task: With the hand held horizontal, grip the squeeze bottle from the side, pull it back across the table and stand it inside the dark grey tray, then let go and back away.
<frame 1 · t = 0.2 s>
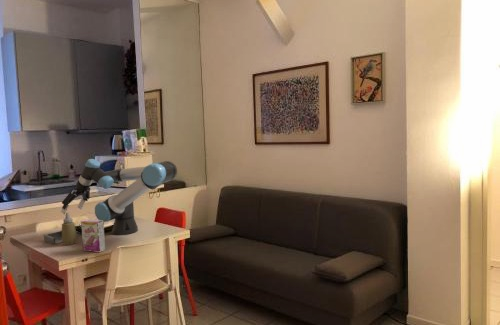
hand: (71, 210, 258), 15 cm above the table, tool tilted 35°, fingers open, 13 cm apart
dark grey tray: (60, 240, 248), on the table
candy bar box: (94, 251, 226), on the table
squeeze bottle: (69, 244, 240), on the table
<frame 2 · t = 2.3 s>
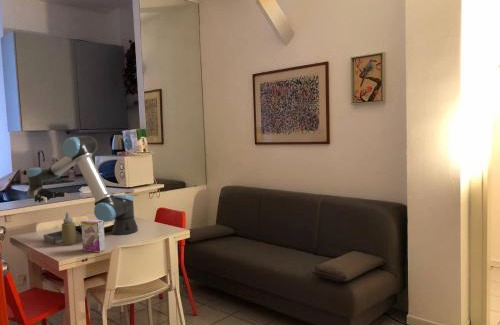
hand: (58, 198, 244), 25 cm above the table, tool horizontal, fingers open, 13 cm apart
nothing on the table moved.
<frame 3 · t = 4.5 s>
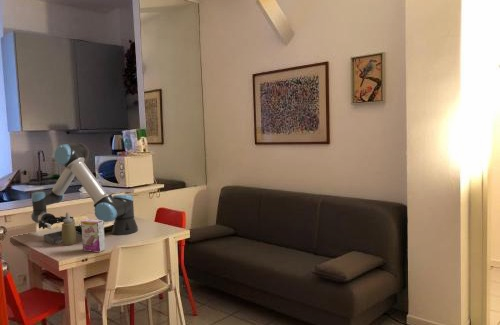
hand: (62, 224, 243), 10 cm above the table, tool horizontal, fingers open, 13 cm apart
nothing on the table moved.
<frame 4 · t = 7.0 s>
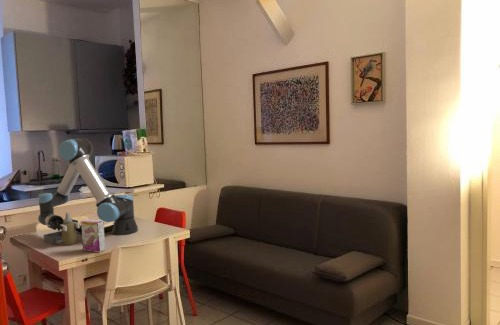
hand: (72, 227, 235), 11 cm above the table, tool horizontal, fingers closed on squeeze bottle, 6 cm apart
squeeze bottle: (69, 244, 240), on the table, touching gripper
everything else where it was.
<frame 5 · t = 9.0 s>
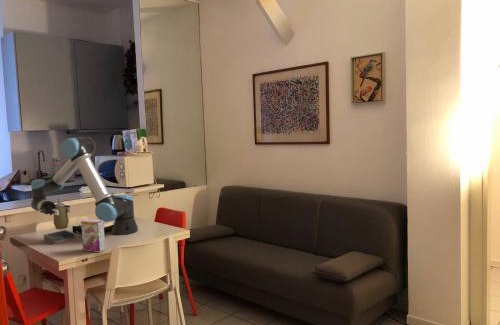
hand: (64, 211, 240), 18 cm above the table, tool horizontal, fingers closed on squeeze bottle, 6 cm apart
squeeze bottle: (61, 228, 244), point 8 cm above the table, touching gripper
everything else where it was.
when the fingers open (12 cm above the table, at t = 11.2 s): squeeze bottle stays where it is, resting on dark grey tray.
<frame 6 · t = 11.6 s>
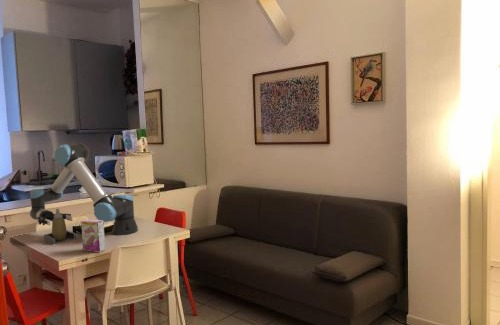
hand: (61, 220, 245), 12 cm above the table, tool horizontal, fingers open, 11 cm apart
squeeze bottle: (60, 239, 248), resting on dark grey tray
everything else where it was.
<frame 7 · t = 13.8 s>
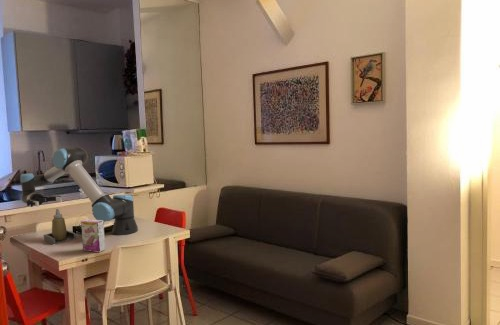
hand: (49, 202, 252), 22 cm above the table, tool horizontal, fingers open, 13 cm apart
nothing on the table moved.
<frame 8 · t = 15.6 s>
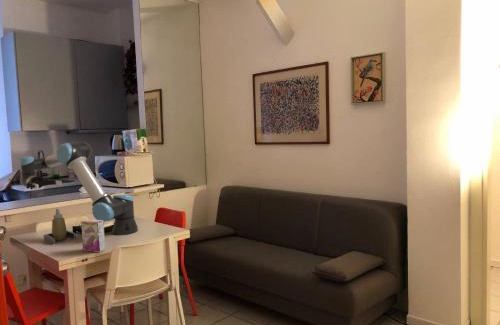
hand: (49, 185, 251), 32 cm above the table, tool horizontal, fingers open, 13 cm apart
nothing on the table moved.
at the end: squeeze bottle 0.1 cm from the dark grey tray (horizontally); squeeze bottle tilted 0°; the gripper is holding nothing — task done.
